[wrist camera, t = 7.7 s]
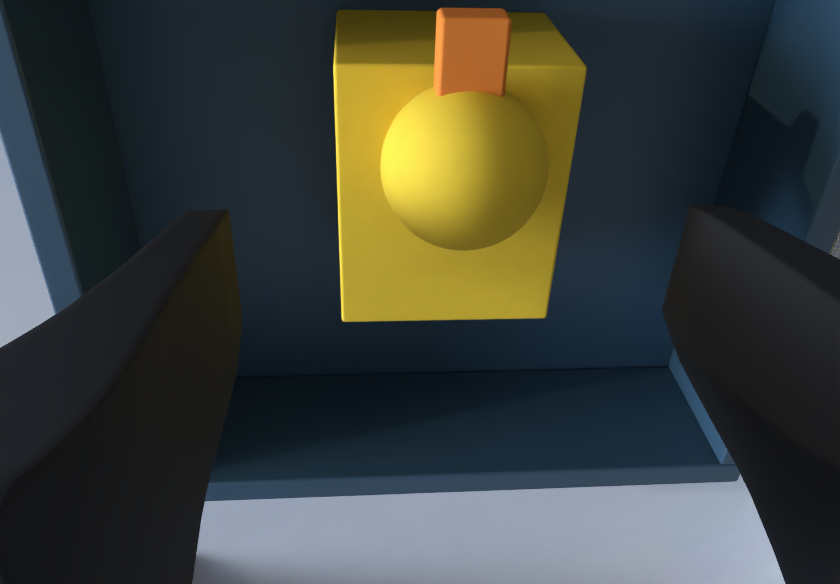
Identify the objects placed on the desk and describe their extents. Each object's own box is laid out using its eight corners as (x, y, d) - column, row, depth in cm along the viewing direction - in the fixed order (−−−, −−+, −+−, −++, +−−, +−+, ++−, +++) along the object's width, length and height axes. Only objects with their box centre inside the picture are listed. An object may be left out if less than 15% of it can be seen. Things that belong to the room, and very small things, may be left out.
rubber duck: (517, 236, 17) (574, 396, 13) (343, 237, 17) (340, 403, 12) (552, -45, 14) (646, 44, 9) (334, -49, 13) (326, 40, 9)
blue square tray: (678, 372, 21) (737, 482, 17) (152, 385, 20) (113, 505, 16) (875, -270, 12) (1053, -282, 9) (-10, -312, 11) (-151, -342, 8)
